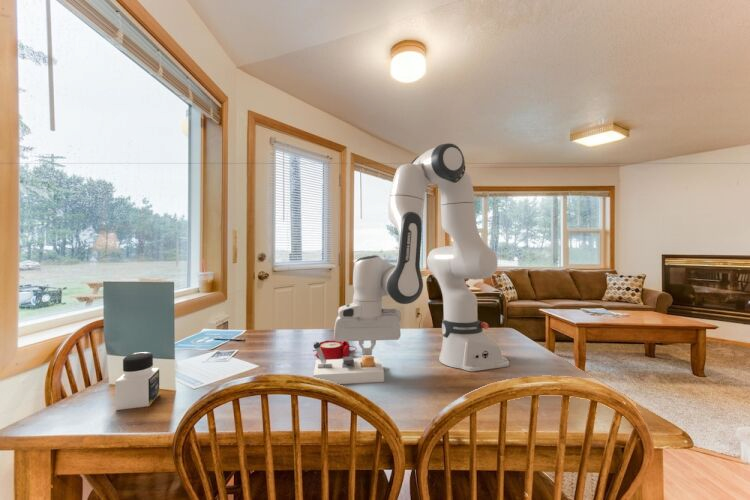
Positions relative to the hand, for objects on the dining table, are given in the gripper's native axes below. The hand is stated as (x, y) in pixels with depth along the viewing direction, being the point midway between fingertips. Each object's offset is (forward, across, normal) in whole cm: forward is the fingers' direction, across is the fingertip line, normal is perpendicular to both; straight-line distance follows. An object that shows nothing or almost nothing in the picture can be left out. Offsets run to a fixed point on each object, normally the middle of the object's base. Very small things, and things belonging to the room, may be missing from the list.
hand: (367, 354), depth 98 cm
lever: (+3, +13, 0) cm, 13 cm away
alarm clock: (+6, +10, -20) cm, 23 cm away
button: (+4, 0, 0) cm, 5 cm away
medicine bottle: (+7, +59, +9) cm, 60 cm away
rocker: (+2, +6, 0) cm, 6 cm away
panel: (+6, +6, 0) cm, 8 cm away
